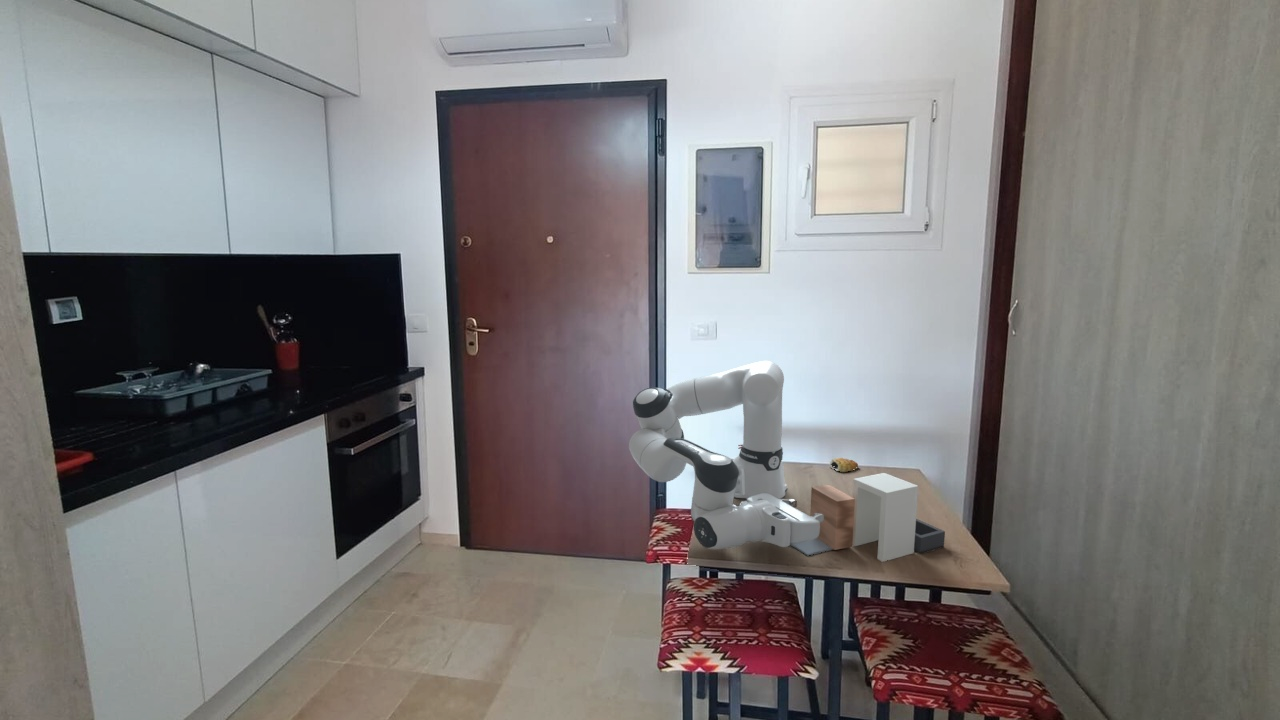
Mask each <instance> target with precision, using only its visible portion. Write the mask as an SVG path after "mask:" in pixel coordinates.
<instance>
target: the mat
mask: <svg viewBox="0 0 1280 720" xmlns="http://www.w3.org/2000/svg"><path fill="white" fill-rule="evenodd" d="M789 546H791V547H792V548H794V549H796V550H797V551H799V552H800V553H802V554H803V553H804V555H806V557H810V556H809V555H811V556H814V555H817V554H822V553H825V551H826V552H829V551H832V550H834V549H833V548H831V547H830V546H828V545H827V544H826V543H824V542H823V541H821V540H820V539H818V538H815V539H812V540H809V541H805V542H800V543H791V542H790V545H789ZM821 552H822V553H821ZM813 554H814V555H813Z"/></svg>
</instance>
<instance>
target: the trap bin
mask: <svg viewBox="0 0 1280 720" xmlns="http://www.w3.org/2000/svg"><path fill="white" fill-rule="evenodd" d="M945 537H946V531H945V530H942V529H940V528H939V527H936V526H933V525H931V524H929V523H926V522H924V521H922V520H920V519H918V518H916V527H915V542H914V553H915V552H916V553H918V555H919V554H920V555H921V554H925V553H929V552H932V551H936V550H939V549H942V548H944V547H945Z"/></svg>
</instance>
